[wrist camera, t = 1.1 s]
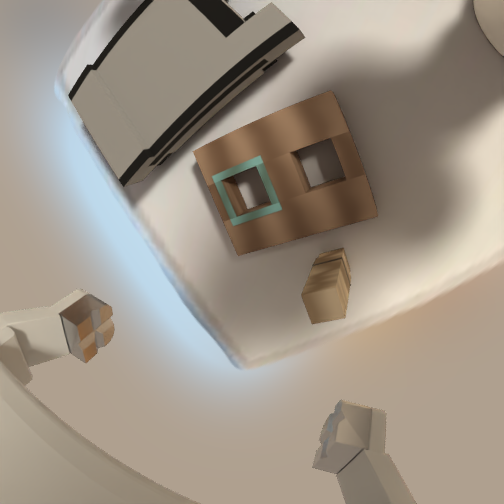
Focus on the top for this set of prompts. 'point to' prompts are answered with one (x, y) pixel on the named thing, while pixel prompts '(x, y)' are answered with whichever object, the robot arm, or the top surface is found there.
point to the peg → (328, 287)
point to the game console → (173, 76)
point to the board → (286, 176)
